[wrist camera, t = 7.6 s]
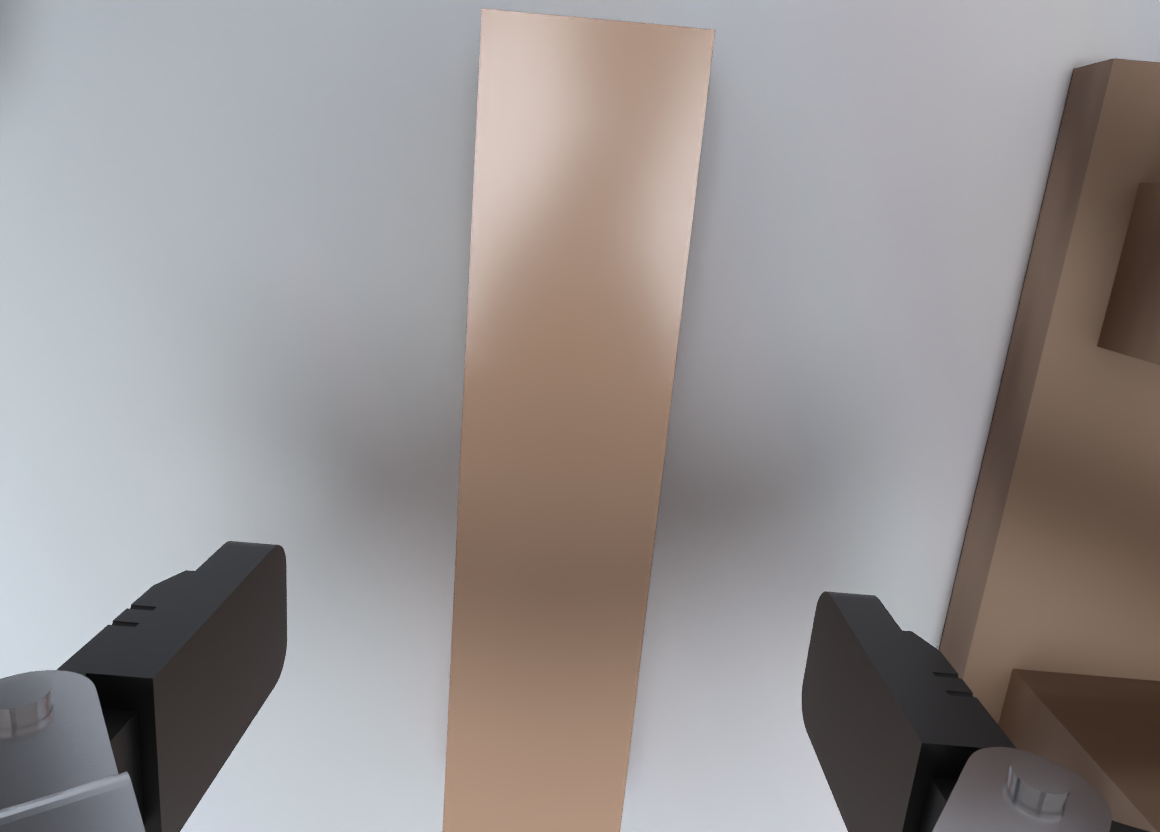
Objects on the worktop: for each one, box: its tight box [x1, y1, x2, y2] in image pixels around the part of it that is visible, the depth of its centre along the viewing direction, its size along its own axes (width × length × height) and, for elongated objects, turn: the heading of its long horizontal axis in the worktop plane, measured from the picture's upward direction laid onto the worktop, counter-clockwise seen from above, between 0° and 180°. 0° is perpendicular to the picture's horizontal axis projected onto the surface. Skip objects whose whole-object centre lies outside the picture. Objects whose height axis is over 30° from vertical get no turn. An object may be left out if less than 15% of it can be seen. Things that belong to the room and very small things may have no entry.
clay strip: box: [443, 8, 715, 832], centre depth 16 cm, size 16×3×4 cm, turn 175°
